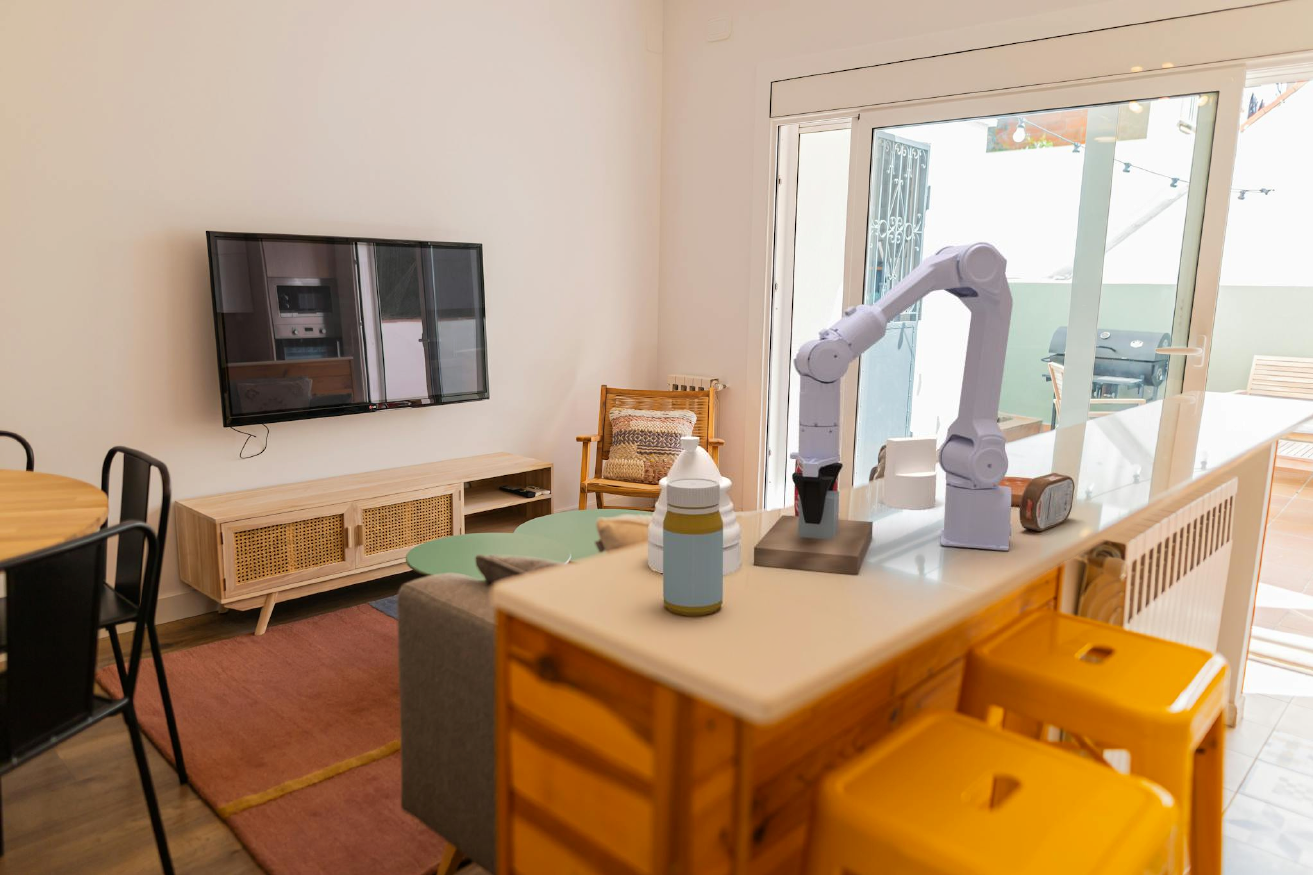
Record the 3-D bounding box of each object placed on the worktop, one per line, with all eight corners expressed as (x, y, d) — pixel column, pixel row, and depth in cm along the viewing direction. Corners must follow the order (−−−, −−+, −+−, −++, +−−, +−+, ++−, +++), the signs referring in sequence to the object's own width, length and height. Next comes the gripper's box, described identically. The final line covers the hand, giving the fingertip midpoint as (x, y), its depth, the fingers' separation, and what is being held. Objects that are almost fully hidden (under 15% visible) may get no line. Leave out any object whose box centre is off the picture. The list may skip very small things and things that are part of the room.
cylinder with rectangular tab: (915, 497, 163) (918, 434, 161) (945, 507, 154) (948, 440, 152) (873, 501, 160) (875, 436, 158) (902, 511, 151) (904, 443, 150)
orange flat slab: (1084, 502, 159) (1085, 486, 159) (1033, 514, 150) (1034, 497, 150) (1006, 487, 172) (1007, 473, 172) (955, 498, 163) (955, 482, 163)
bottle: (660, 598, 106) (660, 477, 104) (717, 596, 107) (718, 476, 105) (666, 618, 99) (666, 489, 97) (726, 616, 100) (727, 488, 98)
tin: (1056, 517, 147) (1059, 468, 145) (1075, 520, 144) (1079, 471, 143) (1015, 533, 137) (1018, 480, 135) (1035, 537, 134) (1039, 483, 133)
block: (838, 531, 128) (839, 491, 127) (833, 539, 123) (834, 498, 123) (804, 528, 130) (804, 489, 129) (798, 536, 125) (798, 495, 124)
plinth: (872, 537, 134) (872, 521, 134) (857, 574, 115) (857, 556, 115) (782, 530, 139) (782, 515, 138) (753, 565, 120) (754, 547, 120)
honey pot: (726, 582, 112) (727, 445, 110) (633, 572, 117) (632, 440, 114) (750, 556, 124) (752, 431, 122) (666, 548, 129) (665, 427, 126)
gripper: (800, 417, 132) (798, 504, 134) (781, 429, 119) (779, 526, 121) (847, 419, 130) (844, 507, 132) (833, 431, 116) (831, 530, 118)
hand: (817, 517), depth 126 cm, fingers open, 7 cm apart
